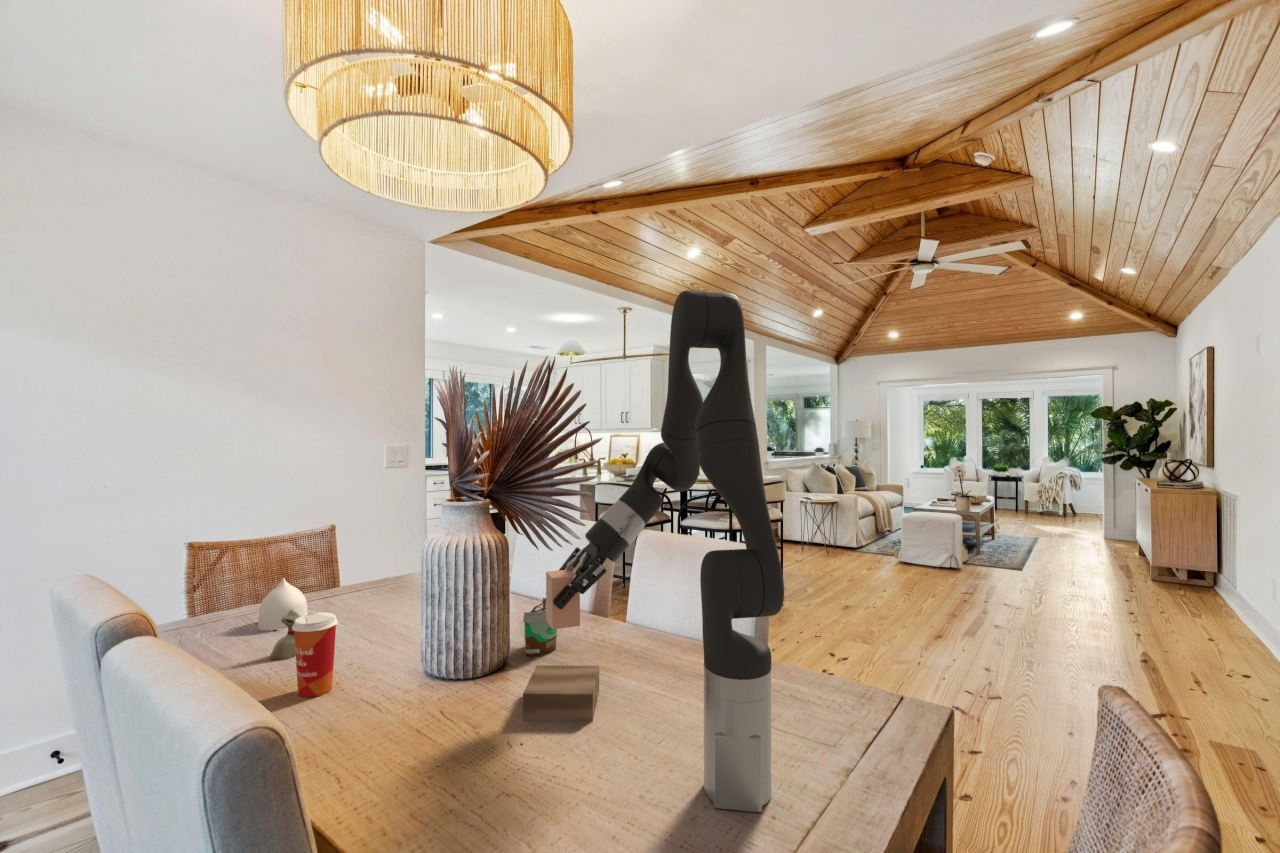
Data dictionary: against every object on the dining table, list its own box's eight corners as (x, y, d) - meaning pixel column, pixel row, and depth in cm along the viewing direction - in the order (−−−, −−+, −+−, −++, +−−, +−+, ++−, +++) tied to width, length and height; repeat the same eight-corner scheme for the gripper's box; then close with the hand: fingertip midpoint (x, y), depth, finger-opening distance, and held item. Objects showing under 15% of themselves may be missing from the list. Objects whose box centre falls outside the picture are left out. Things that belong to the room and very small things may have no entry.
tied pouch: (310, 656, 131) (310, 610, 131) (268, 661, 128) (268, 614, 128) (313, 647, 136) (313, 603, 136) (273, 652, 133) (273, 607, 133)
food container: (550, 661, 128) (550, 614, 128) (523, 659, 129) (523, 613, 129) (568, 641, 140) (568, 598, 140) (543, 639, 141) (543, 596, 141)
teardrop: (292, 631, 147) (291, 582, 147) (247, 631, 147) (247, 582, 147) (316, 617, 158) (316, 571, 158) (275, 616, 158) (275, 571, 158)
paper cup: (286, 691, 113) (286, 618, 113) (329, 679, 119) (329, 609, 119) (300, 705, 108) (300, 627, 108) (344, 691, 113) (344, 617, 113)
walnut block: (592, 723, 102) (592, 694, 102) (522, 722, 102) (522, 693, 102) (599, 692, 114) (599, 665, 114) (536, 691, 114) (536, 665, 114)
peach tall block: (579, 625, 106) (579, 575, 106) (552, 629, 105) (552, 578, 105) (572, 617, 111) (572, 569, 111) (546, 620, 109) (546, 571, 109)
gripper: (591, 511, 117) (530, 578, 113) (614, 523, 104) (546, 599, 100) (616, 536, 119) (557, 603, 115) (643, 551, 106) (577, 627, 101)
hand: (553, 601), depth 107 cm, fingers closed on peach tall block, 5 cm apart
